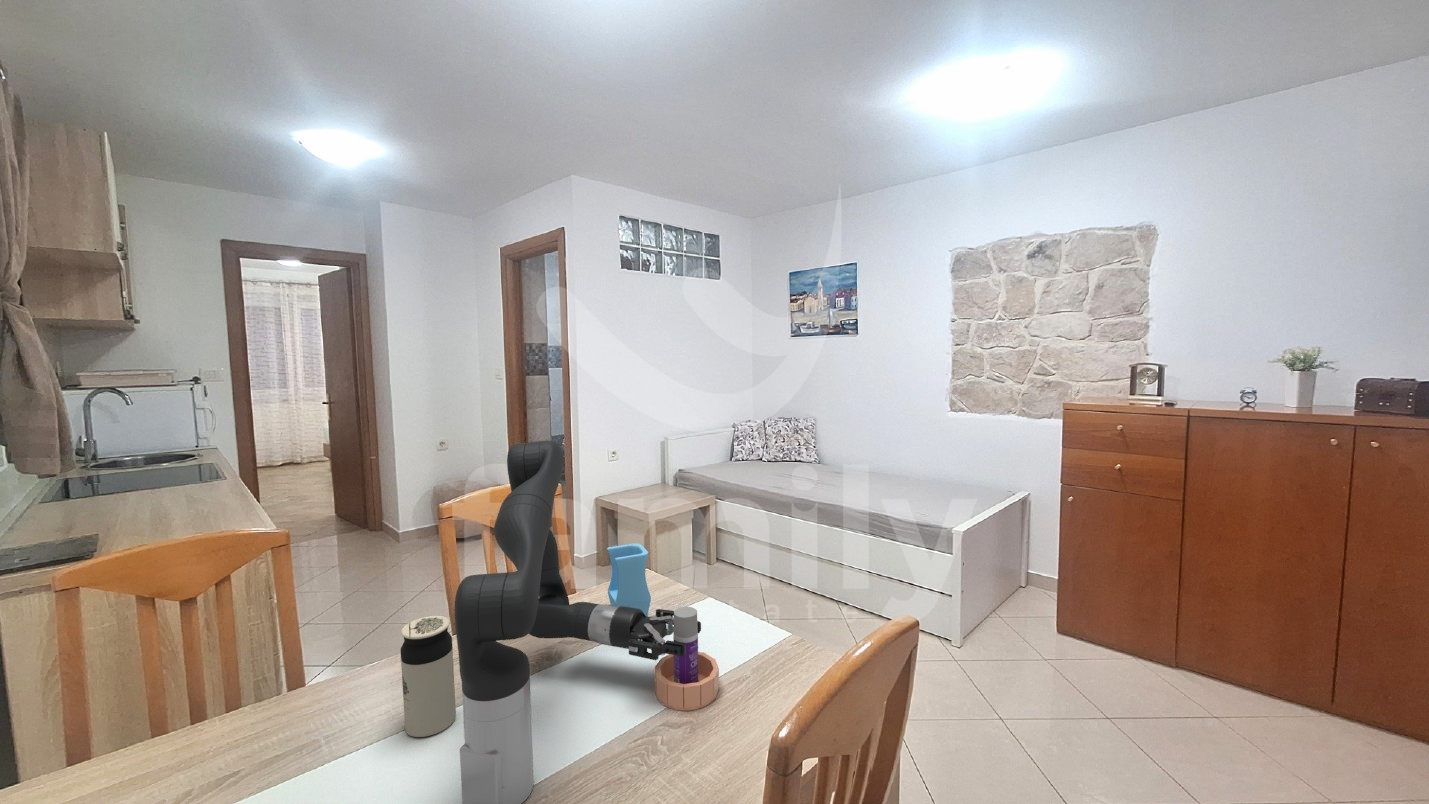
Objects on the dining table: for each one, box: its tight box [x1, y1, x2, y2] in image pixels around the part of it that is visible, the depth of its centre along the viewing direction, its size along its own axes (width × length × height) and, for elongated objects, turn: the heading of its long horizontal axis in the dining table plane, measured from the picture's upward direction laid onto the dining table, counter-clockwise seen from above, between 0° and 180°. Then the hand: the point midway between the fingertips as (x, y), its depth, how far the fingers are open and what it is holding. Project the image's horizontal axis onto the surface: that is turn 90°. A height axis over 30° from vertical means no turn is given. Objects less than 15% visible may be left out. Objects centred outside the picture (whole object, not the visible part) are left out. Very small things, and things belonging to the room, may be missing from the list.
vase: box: [607, 542, 652, 617], centre depth 126 cm, size 8×8×20 cm
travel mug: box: [400, 615, 457, 738], centre depth 96 cm, size 8×8×18 cm
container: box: [672, 606, 699, 684], centre depth 105 cm, size 5×5×15 cm
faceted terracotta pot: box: [654, 651, 720, 712], centre depth 106 cm, size 12×12×5 cm
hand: (693, 638), depth 104 cm, fingers open, 8 cm apart
